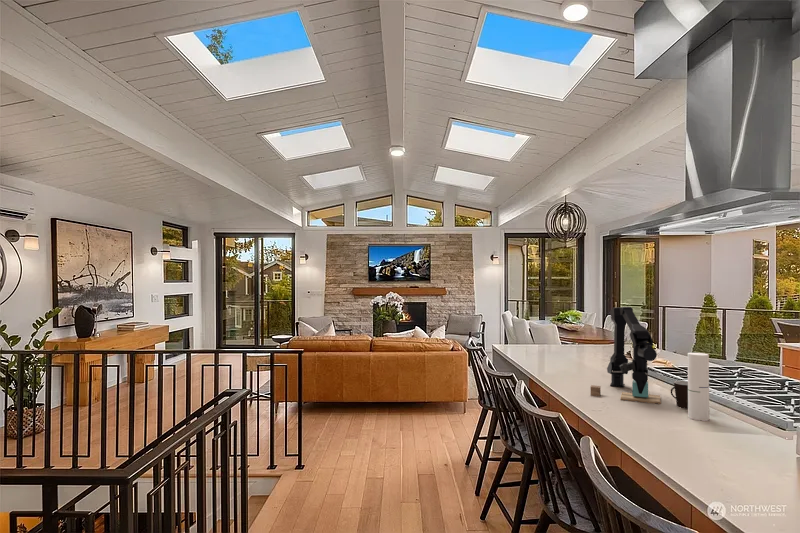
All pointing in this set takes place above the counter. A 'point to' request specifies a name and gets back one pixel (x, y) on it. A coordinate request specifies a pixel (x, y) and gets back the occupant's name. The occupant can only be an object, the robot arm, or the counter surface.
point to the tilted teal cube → (636, 392)
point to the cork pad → (640, 398)
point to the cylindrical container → (698, 386)
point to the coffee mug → (681, 393)
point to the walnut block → (595, 390)
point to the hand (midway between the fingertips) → (640, 391)
